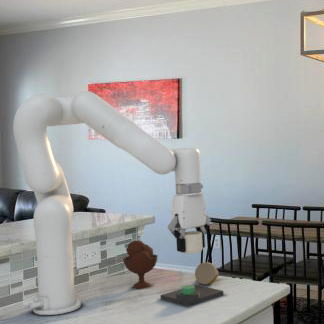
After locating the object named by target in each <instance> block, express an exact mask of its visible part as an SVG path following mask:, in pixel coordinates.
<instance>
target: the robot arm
mask: <svg viewBox="0 0 324 324" xmlns="http://www.w3.org/2000/svg"><path fill="white" fill-rule="evenodd" d="M79 124H85V125H86V126H88V128H90V129H92V130H93V131H95V132H96V133H97V134H98V135H100V136H101V137H103V138H104V139H105V140H107V141H108V142H110V143H111V144H112V145H114V146H115V147H117V148H119V149H121V150H122V151H124V152H126V153H128V154H129V155H131V156H132V157H133V158H135V159H136V160H137V161H139V162H140V163H142V164H143V165H144V166H146V167H147V168H149V169H150V170H151V171H152V172H153V173H155V174H158V175H168V174H169V173H171V172H174V181H175V182H174V183H175V184H174V185H175V194H173V196H172V202H171V203H172V205H171V221H170V222H169V224H168V225H167V229H168V230H169V231H170V233H171V235H173V237H174V238H175V239H176V251H177V252H179V253H181V252H185V251H186V244H185V238H183V237H184V234H185V232H187V230H188V229H193V228H194V229H195V231H200V232H202V241H203V249H204V248H206V239H205V238H206V237H205V236H206V234H207V230H208V229H209V226H210V224H211V222H212V219H211V218H210V217H209V216H208V215H207V211H206V203H205V198H204V194H203V192H202V189H203V188H204V185H203V183H202V174H201V173H202V172H201V154H200V153H201V152H200V150H199V149H198V148H197V147H179V148H168V147H167V146H166V145H164V144H163V143H161V142H160V141H159V140H157V139H156V138H154V137H153V136H152V135H151V134H149V133H148V132H147V131H145V130H144V129H142V128H141V127H140V126H138V124H136V122H134V121H133V120H131V119H130V118H129V117H128V116H126V115H125V114H124V113H122V112H121V111H119V110H118V109H116V107H114V106H113V105H111V104H110V103H109V102H107V101H106V100H104V99H103V98H102V97H100V96H99V95H97V94H96V93H94V92H93V91H90V90H84V91H80V92H79V93H77V94H76V95H67V96H52V95H49V94H46V93H37V94H34V95H31V96H30V97H28V98H27V99H25V100H24V102H22V103H21V104H20V106H19V107H18V108H17V110H16V112H15V114H14V118H13V125H12V128H13V129H12V130H13V136H14V140H15V145H16V149H17V153H18V157H19V160H20V163H21V167H22V171H23V176H24V181H25V183H26V185H27V186H28V188H29V189H30V190H31V191H33V193H34V197H35V200H36V204H37V205H36V206H35V209H34V212H33V228H34V236H35V250H36V266H37V268H36V269H37V271H36V272H37V289H38V294H34V297H33V298H32V299H31V300H25V301H22V302H21V303H20V307H21V309H22V310H26V309H30V310H32V312H33V313H34V314H36V315H40V316H54V315H55V316H56V315H62V314H66V313H71V312H74V311H76V310H78V309H79V308H81V306H82V301H81V300H79V299H77V298H76V296H75V271H74V270H75V269H74V250H73V235H72V233H73V232H72V218H73V216H74V215H73V214H74V204H73V200H72V197H71V193H70V189H69V186H68V182H67V179H66V175H65V173H64V172H65V171H64V169H63V167H62V165H60V163H59V162H57V161H56V159H55V157H54V154H53V150H52V146H51V142H50V140H49V137H48V132H47V128H48V127H56V126H68V125H69V126H70V125H79Z"/></svg>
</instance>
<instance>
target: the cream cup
mask: <svg viewBox="0 0 324 324" xmlns="http://www.w3.org/2000/svg"><path fill="white" fill-rule="evenodd" d="M183 238H185V244H186V251H185V252H180V253H181V254H187V255H189V254H197V253H202V251H203V249H204V248H203V241H202V232H200V231H196V230H188V231H187V230H186V231H185V234H184V237H183Z"/></svg>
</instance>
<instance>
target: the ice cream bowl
mask: <svg viewBox="0 0 324 324" xmlns="http://www.w3.org/2000/svg"><path fill="white" fill-rule="evenodd" d="M125 251H126V253H127V256H124V257H123V258H122V259H123V260H122V261H123V264H124V266H125V269H127V270H128V271H129V272H131V273H133V274H136V275H137V276H138V281H137V282H136V283H135V284H133V287H132V289H135V290H142V289H143V290H144V289H147V288H150V287H151V284H150V283H149V282H147V281H145V275H146V274H147V273H149V272H150V271H152V270H153V269H154V268H155V266H156V265H157V262H158V256H159V255H158V254H155V253H154V249H153V248H152V247H151V246H150V245H148V244H147V243H144V242H143V241H142V240H133V241H130V242H129V243H128V244H127V247H126V249H125Z"/></svg>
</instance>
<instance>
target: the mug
mask: <svg viewBox="0 0 324 324" xmlns="http://www.w3.org/2000/svg"><path fill="white" fill-rule="evenodd" d="M218 277H219V270H218V269H217V267H216V266H215V264H213V263H212V262H208V261H204V262H202V263H200V264H199V265H197V266H196V268H195V270H194V278H195V279H196V281H197V283H199V284H201V285H204V286H207V285H212V284H214V282H215V281H216V280H217V278H218Z"/></svg>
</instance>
